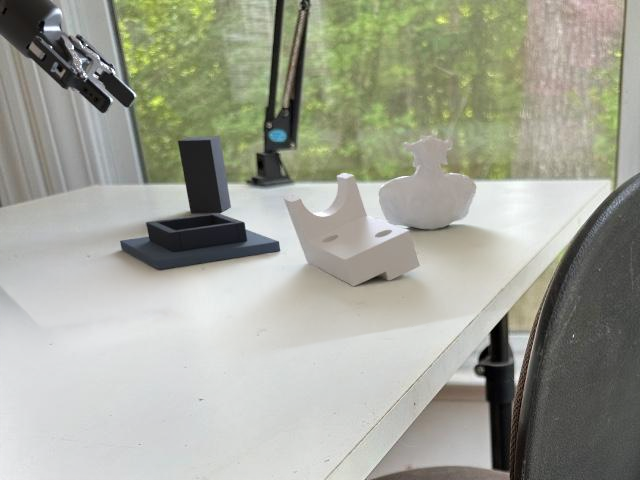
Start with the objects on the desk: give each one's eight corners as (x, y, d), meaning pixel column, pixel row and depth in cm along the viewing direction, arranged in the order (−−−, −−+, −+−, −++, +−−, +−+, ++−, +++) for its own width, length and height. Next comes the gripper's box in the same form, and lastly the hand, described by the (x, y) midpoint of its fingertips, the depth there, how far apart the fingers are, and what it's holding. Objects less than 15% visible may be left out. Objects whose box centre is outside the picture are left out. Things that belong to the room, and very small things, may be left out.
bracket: (310, 270, 96) (283, 198, 91) (367, 244, 98) (344, 172, 93) (357, 295, 86) (330, 216, 82) (420, 266, 88) (397, 187, 83)
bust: (383, 250, 110) (386, 178, 99) (373, 201, 112) (375, 126, 101) (478, 242, 111) (491, 170, 101) (466, 194, 114) (478, 120, 103)
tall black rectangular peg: (190, 213, 125) (177, 140, 120) (200, 207, 128) (188, 137, 124) (222, 212, 124) (210, 139, 120) (231, 206, 128) (220, 136, 123)
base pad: (121, 249, 105) (115, 222, 103) (234, 233, 111) (230, 206, 109) (158, 270, 95) (152, 240, 93) (280, 250, 101) (276, 222, 99)
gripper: (25, 31, 122) (126, 123, 128) (-29, 32, 110) (85, 133, 116) (52, -18, 119) (154, 78, 124) (-1, -22, 107) (115, 84, 112)
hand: (121, 105), depth 120 cm, fingers open, 8 cm apart
